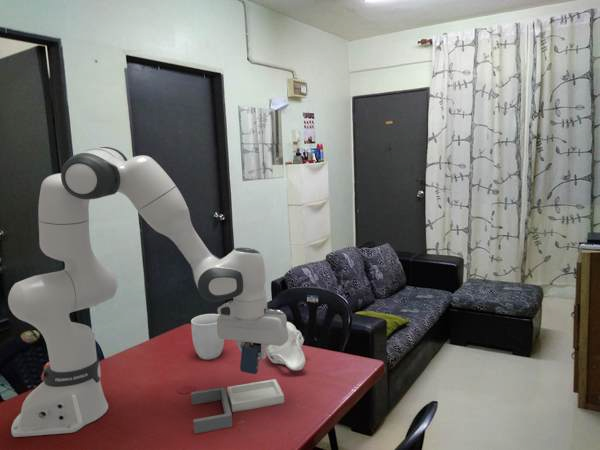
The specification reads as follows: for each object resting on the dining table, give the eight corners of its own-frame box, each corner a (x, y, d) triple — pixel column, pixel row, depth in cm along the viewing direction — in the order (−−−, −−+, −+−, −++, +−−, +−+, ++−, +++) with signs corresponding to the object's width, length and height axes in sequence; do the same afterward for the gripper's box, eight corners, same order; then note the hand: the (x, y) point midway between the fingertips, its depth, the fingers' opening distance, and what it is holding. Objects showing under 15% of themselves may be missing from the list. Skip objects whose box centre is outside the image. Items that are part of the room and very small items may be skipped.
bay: (194, 433, 111) (193, 422, 110) (191, 402, 125) (190, 392, 125) (232, 426, 113) (231, 415, 113) (225, 397, 128) (224, 386, 127)
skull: (322, 359, 140) (301, 342, 159) (300, 320, 138) (281, 308, 157) (287, 384, 137) (270, 364, 156) (263, 344, 135) (249, 329, 154)
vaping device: (256, 375, 123) (261, 333, 121) (238, 371, 124) (242, 329, 122) (259, 371, 126) (264, 329, 124) (241, 367, 127) (245, 326, 125)
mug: (183, 351, 160) (181, 315, 159) (212, 343, 167) (210, 309, 165) (202, 365, 149) (199, 327, 147) (232, 356, 155) (229, 319, 153)
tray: (232, 412, 120) (231, 404, 119) (227, 394, 129) (227, 386, 129) (284, 403, 123) (283, 395, 123) (276, 386, 133) (275, 379, 133)
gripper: (290, 306, 121) (293, 356, 123) (224, 301, 129) (227, 348, 131) (280, 314, 115) (283, 366, 117) (212, 308, 123) (215, 357, 125)
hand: (253, 357), depth 124 cm, fingers closed on vaping device, 4 cm apart
